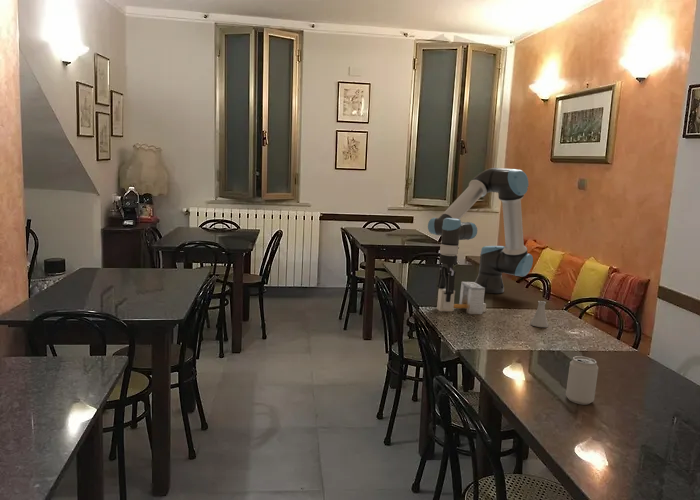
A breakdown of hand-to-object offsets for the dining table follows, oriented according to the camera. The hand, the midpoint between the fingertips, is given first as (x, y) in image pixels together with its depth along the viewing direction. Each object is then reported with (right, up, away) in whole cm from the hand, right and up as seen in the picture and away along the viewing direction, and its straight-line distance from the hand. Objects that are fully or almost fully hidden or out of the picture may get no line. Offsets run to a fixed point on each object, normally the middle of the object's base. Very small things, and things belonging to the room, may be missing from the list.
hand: (443, 306), depth 261 cm
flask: (+37, -7, -14) cm, 40 cm away
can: (+24, -18, -93) cm, 97 cm away
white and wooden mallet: (+8, -2, +2) cm, 8 cm away
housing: (+12, -2, +3) cm, 13 cm away
